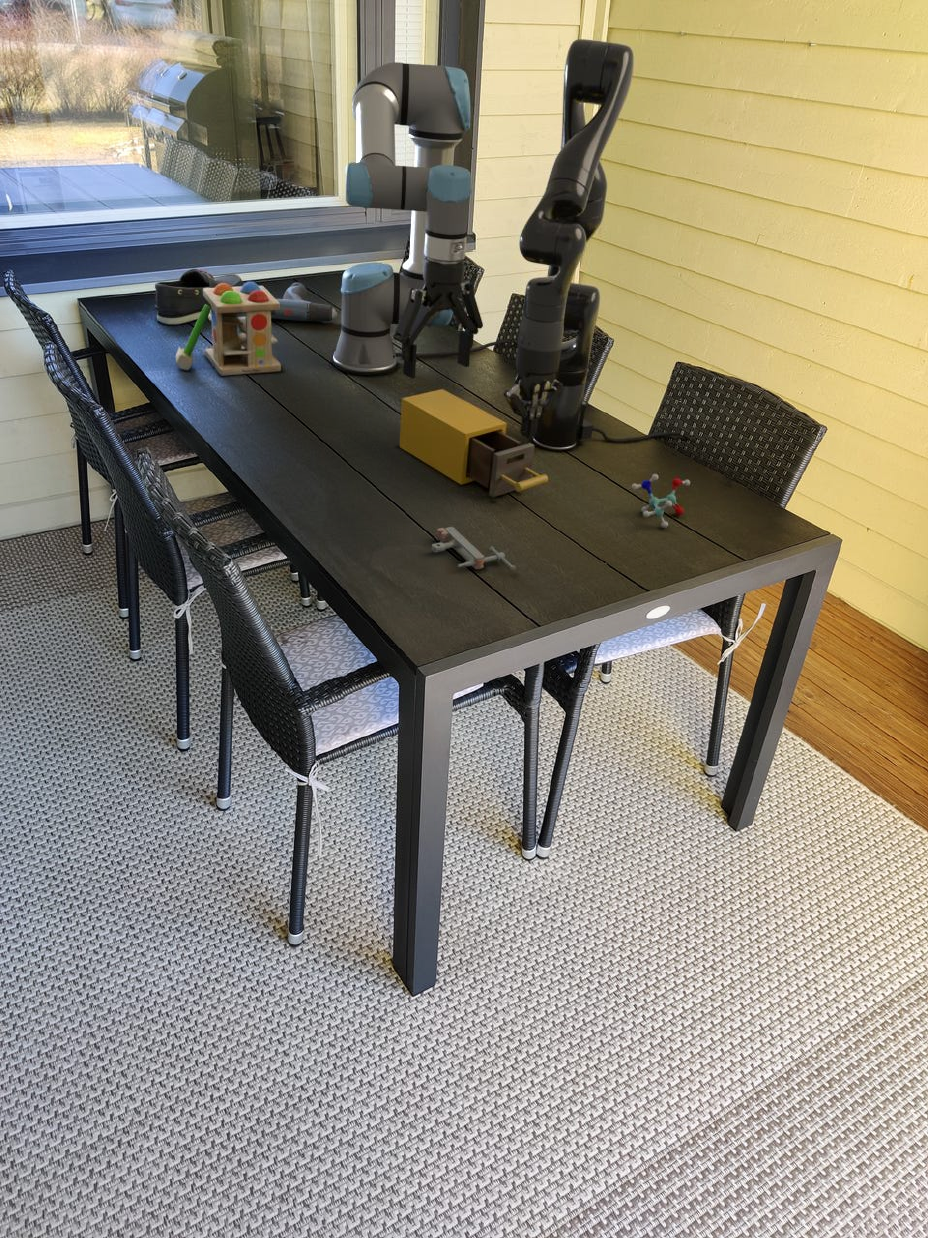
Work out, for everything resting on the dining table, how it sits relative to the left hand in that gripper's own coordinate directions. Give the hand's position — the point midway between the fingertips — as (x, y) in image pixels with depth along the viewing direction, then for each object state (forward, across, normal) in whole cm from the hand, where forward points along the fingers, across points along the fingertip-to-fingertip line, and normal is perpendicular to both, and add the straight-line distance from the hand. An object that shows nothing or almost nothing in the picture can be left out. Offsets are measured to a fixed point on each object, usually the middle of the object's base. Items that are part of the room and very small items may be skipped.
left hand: (436, 370), depth 192 cm
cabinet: (+17, 0, -6) cm, 18 cm away
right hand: (+3, 0, -27) cm, 27 cm away
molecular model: (+17, +18, -45) cm, 51 cm away
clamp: (+17, -22, -38) cm, 47 cm away
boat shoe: (+17, +2, +100) cm, 102 cm away
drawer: (+16, 0, -18) cm, 24 cm away
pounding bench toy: (+17, -13, +61) cm, 64 cm away
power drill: (+17, +25, +86) cm, 91 cm away
